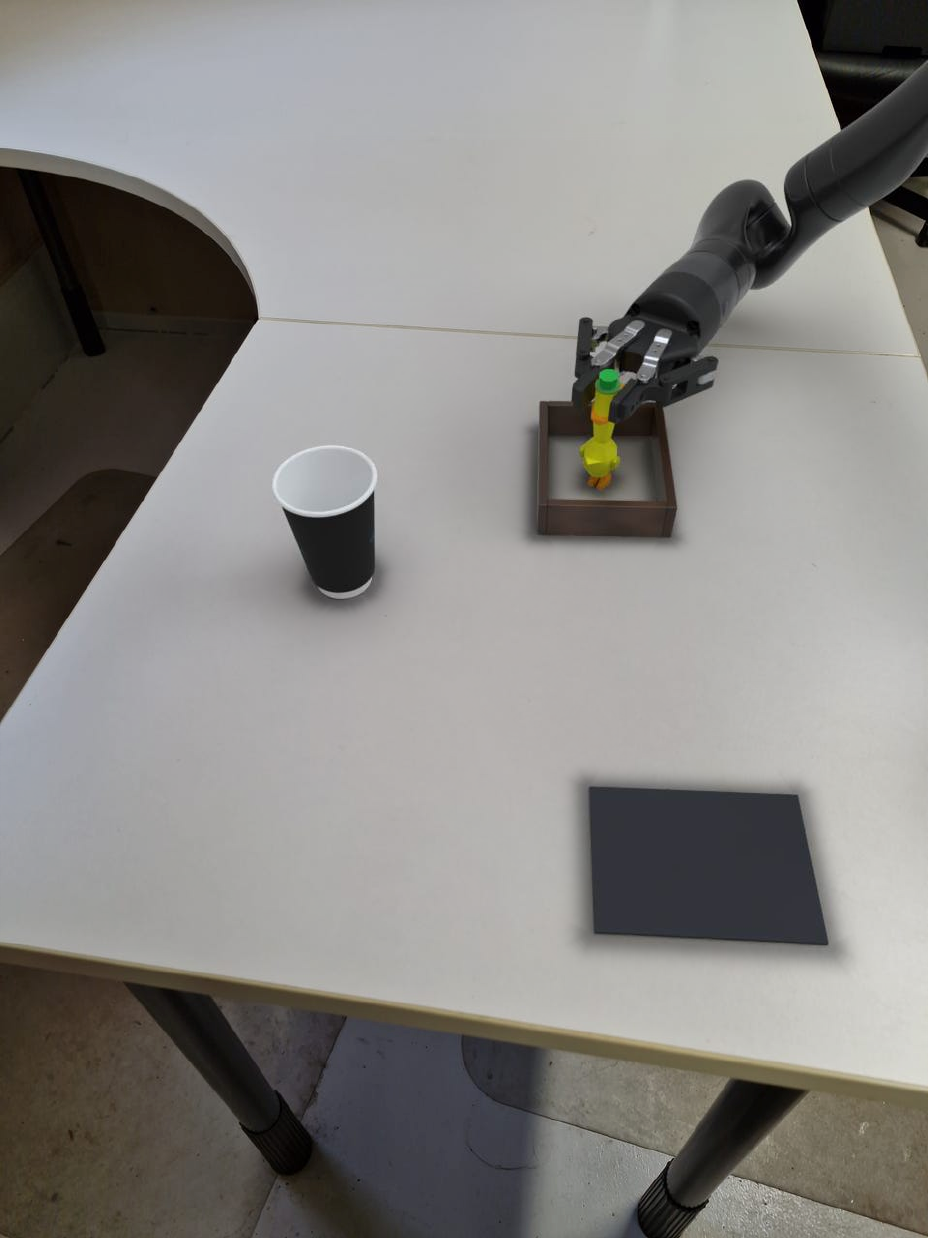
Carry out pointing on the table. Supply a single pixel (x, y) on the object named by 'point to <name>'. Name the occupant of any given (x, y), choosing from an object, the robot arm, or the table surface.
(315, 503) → the dixie cup
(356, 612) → the table surface
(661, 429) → the tray box
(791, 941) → the rubber pad
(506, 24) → the table surface
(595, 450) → the toy figure
